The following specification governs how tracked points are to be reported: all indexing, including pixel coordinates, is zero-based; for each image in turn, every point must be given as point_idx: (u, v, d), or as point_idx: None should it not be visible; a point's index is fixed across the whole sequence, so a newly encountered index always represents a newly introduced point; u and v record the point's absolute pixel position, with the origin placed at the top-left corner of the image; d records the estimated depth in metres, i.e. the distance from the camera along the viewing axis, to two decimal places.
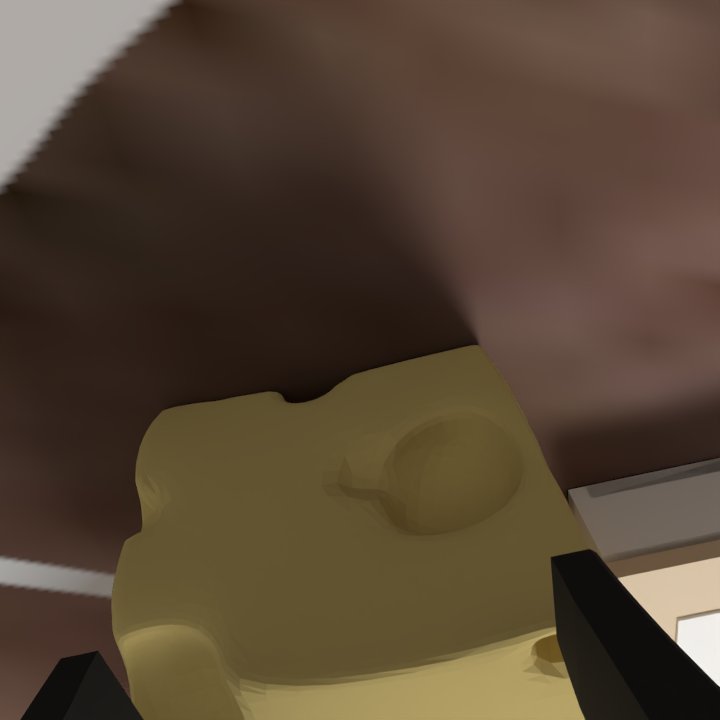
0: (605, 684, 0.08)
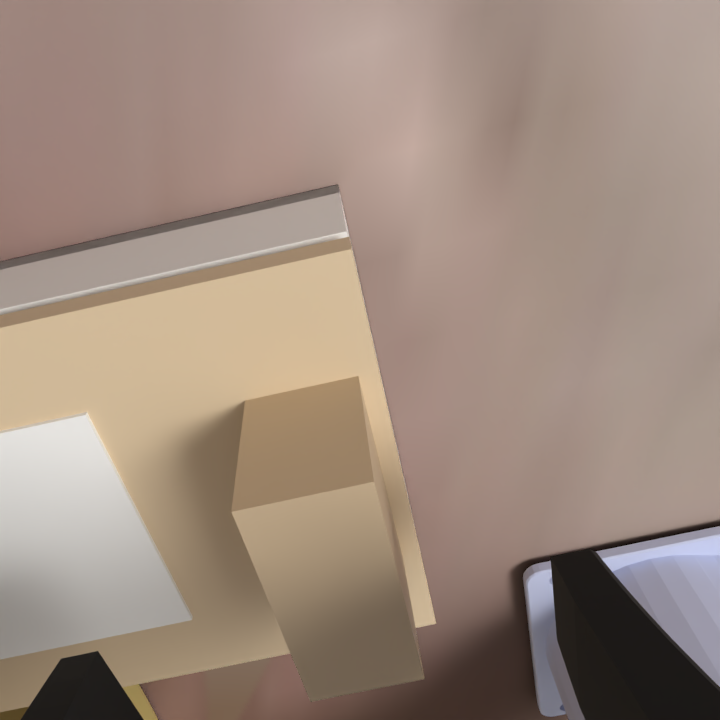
0: (605, 684, 0.08)
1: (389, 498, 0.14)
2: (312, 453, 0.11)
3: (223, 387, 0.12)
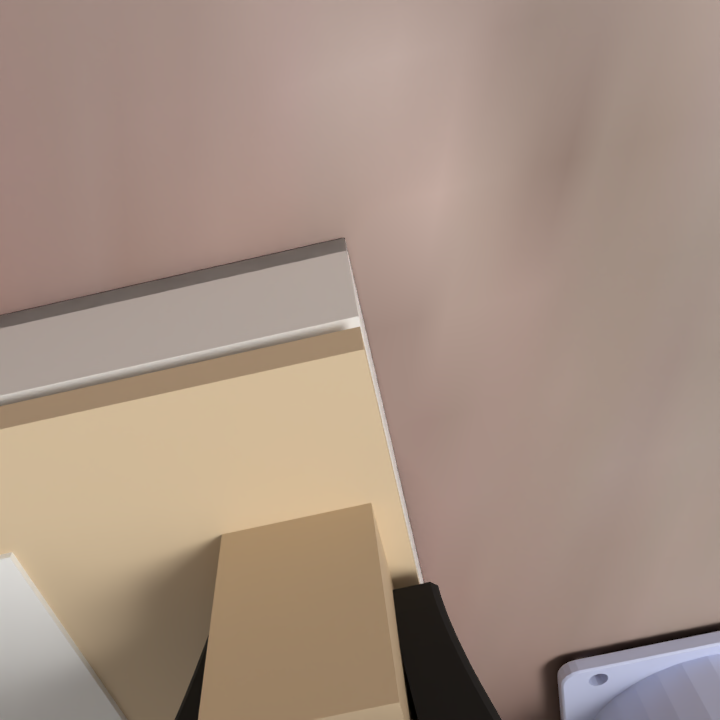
0: None
1: None
2: (312, 638, 0.08)
3: (192, 519, 0.09)
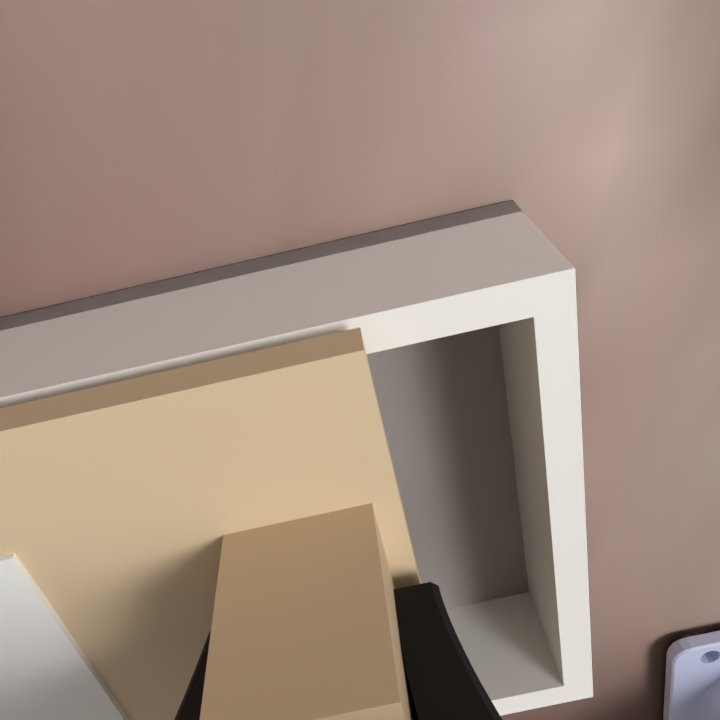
0: None
1: None
2: (313, 639, 0.08)
3: (194, 520, 0.09)
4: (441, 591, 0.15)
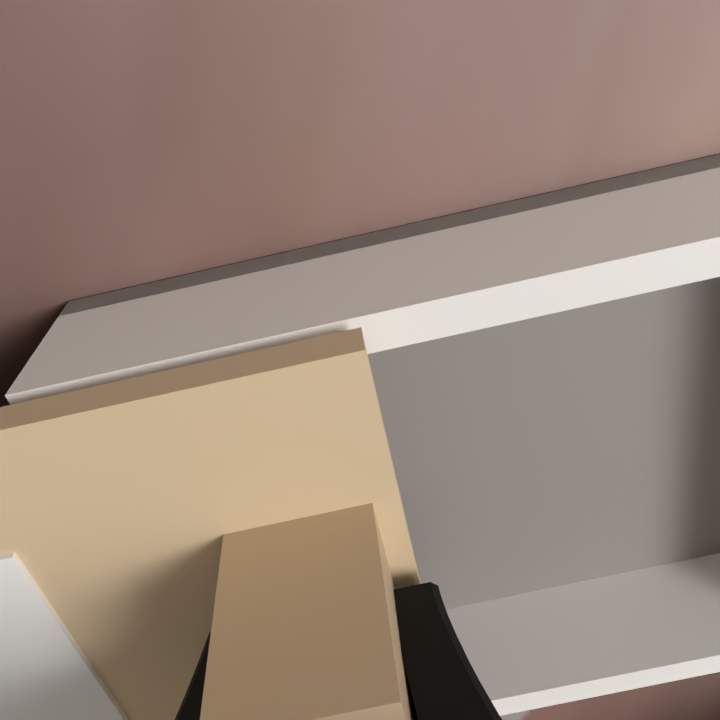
0: None
1: None
2: (313, 638, 0.08)
3: (194, 519, 0.09)
4: (654, 547, 0.15)
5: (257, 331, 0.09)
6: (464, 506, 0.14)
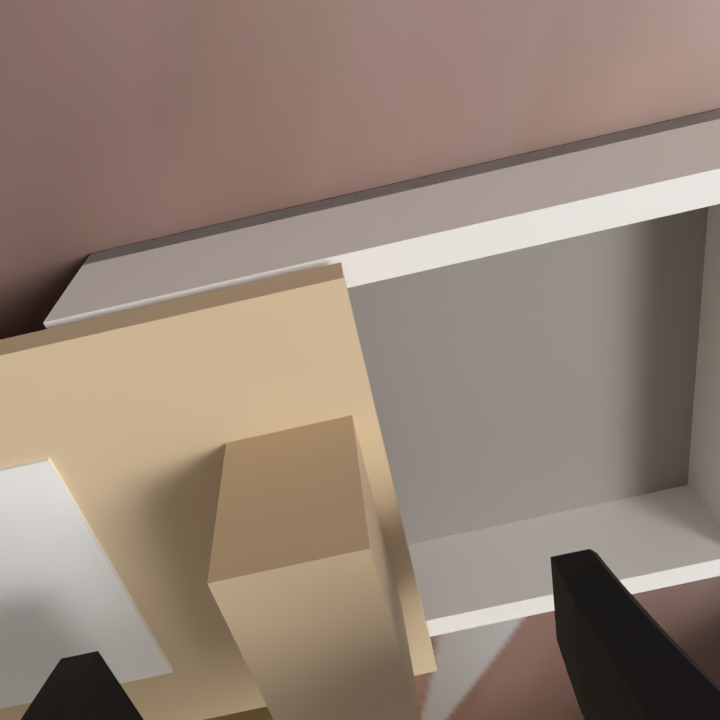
0: (605, 684, 0.08)
1: (386, 543, 0.13)
2: (300, 510, 0.10)
3: (201, 429, 0.11)
4: (611, 482, 0.17)
5: (255, 268, 0.11)
6: (439, 442, 0.16)
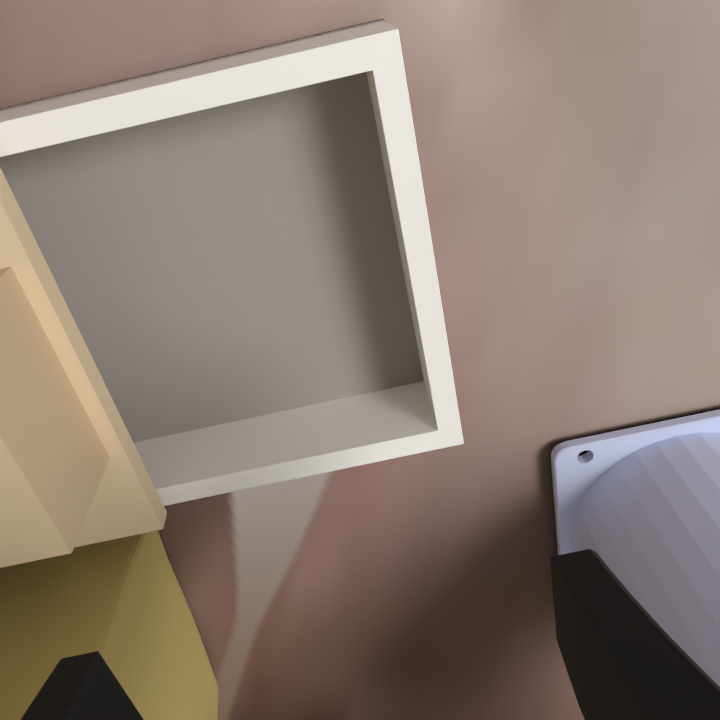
0: (605, 684, 0.08)
1: (77, 395, 0.15)
2: None
3: None
4: (350, 376, 0.19)
5: None
6: (180, 332, 0.18)
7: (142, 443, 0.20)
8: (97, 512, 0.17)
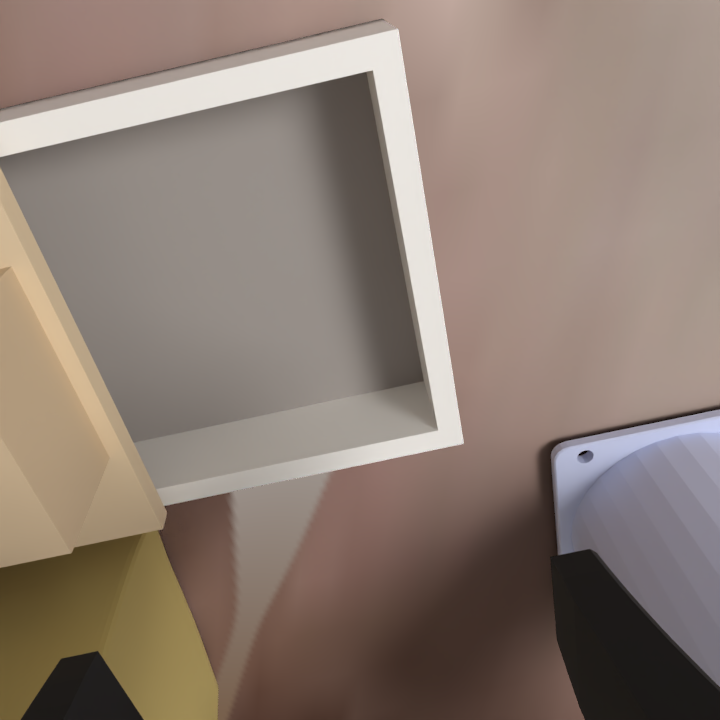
0: (605, 684, 0.08)
1: (77, 395, 0.15)
2: None
3: None
4: (350, 376, 0.19)
5: None
6: (180, 332, 0.18)
7: (142, 443, 0.20)
8: (97, 512, 0.17)
